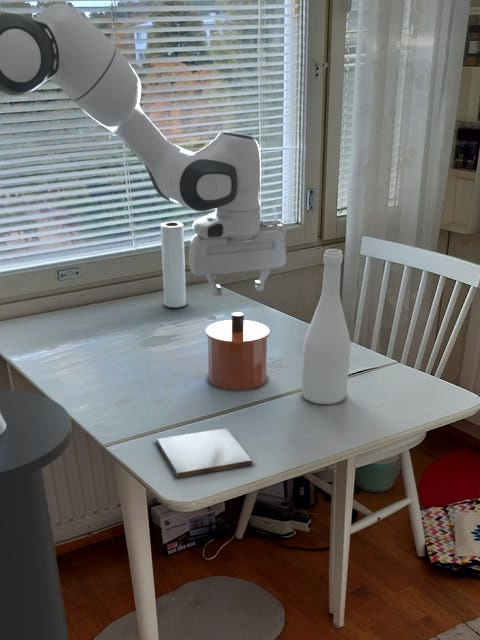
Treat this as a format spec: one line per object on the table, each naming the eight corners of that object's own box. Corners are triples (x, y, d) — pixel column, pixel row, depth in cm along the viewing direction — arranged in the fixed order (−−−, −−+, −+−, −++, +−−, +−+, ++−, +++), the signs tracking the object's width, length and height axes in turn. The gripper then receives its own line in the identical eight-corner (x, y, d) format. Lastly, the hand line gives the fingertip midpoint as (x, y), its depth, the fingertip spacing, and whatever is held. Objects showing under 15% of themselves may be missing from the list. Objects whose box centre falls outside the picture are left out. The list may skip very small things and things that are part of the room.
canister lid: (217, 350, 161) (217, 328, 158) (197, 328, 171) (197, 307, 169) (279, 342, 165) (280, 320, 162) (255, 322, 175) (256, 301, 173)
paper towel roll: (177, 309, 213) (174, 227, 201) (159, 305, 216) (155, 224, 204) (192, 302, 218) (190, 222, 206) (175, 299, 221) (172, 219, 209)
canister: (219, 393, 167) (219, 346, 161) (201, 372, 177) (200, 326, 171) (274, 385, 171) (275, 339, 165) (253, 365, 180) (254, 320, 174)
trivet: (177, 478, 137) (177, 473, 136) (156, 443, 148) (156, 438, 147) (252, 465, 141) (252, 460, 140) (226, 432, 152) (226, 427, 151)
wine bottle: (304, 385, 171) (312, 243, 154) (348, 389, 169) (360, 246, 152) (297, 403, 163) (305, 255, 146) (343, 407, 161) (356, 258, 145)
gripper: (280, 215, 161) (278, 283, 168) (184, 223, 155) (187, 293, 163) (292, 221, 156) (290, 291, 163) (194, 230, 150) (196, 302, 158)
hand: (238, 292), depth 163 cm, fingers open, 8 cm apart
